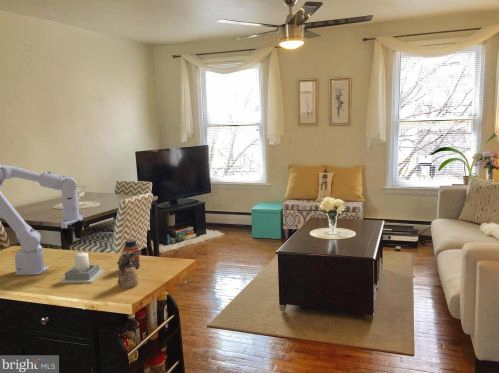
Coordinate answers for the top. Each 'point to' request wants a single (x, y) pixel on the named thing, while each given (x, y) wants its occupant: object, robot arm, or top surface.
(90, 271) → the cup holder
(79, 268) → the cream white egg
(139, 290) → the top surface
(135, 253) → the supplement bottle
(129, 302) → the top surface
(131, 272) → the figurine
